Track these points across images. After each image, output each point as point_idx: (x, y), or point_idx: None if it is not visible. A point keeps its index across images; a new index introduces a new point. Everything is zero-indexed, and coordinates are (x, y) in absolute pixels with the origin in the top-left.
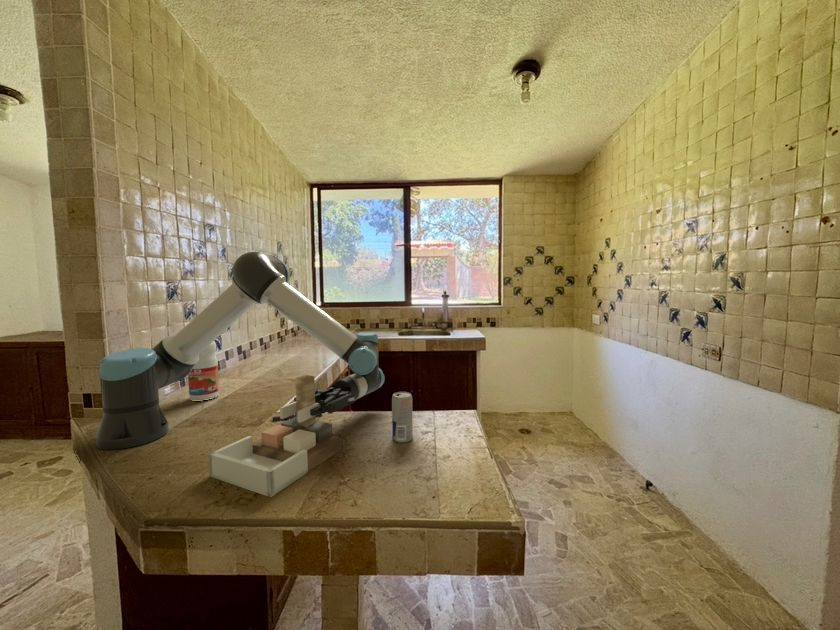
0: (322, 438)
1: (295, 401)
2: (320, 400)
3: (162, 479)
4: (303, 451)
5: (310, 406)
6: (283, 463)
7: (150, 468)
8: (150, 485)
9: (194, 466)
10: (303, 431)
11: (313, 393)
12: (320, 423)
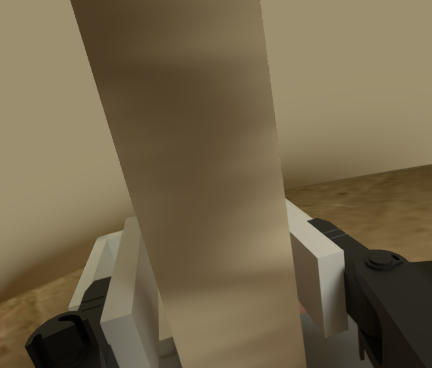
0: None
1: (424, 268)
2: (80, 317)
3: (326, 201)
4: (75, 298)
5: (121, 259)
6: (92, 255)
7: (387, 190)
8: (315, 195)
9: (351, 221)
10: (164, 330)
11: (141, 217)
12: None
